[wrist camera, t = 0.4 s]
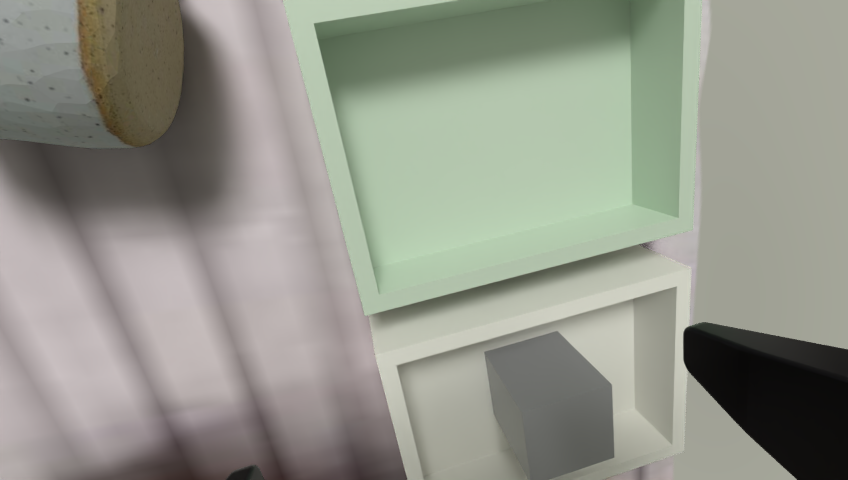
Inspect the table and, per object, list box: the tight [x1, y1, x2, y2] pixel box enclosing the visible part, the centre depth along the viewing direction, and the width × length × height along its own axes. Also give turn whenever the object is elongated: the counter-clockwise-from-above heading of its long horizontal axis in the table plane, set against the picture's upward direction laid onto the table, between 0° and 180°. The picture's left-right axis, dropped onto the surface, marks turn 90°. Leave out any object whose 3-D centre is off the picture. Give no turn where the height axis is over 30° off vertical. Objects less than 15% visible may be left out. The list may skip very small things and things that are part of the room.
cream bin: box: [369, 245, 691, 480], centre depth 23 cm, size 12×16×4 cm
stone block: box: [484, 331, 614, 480], centre depth 22 cm, size 4×4×5 cm
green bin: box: [283, 0, 702, 316], centre depth 18 cm, size 12×16×4 cm
